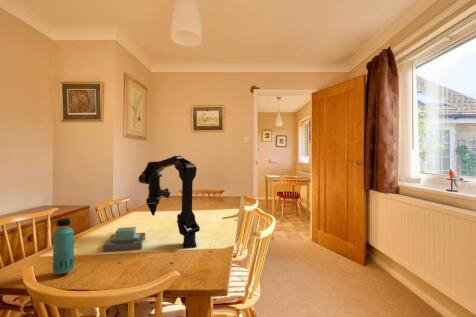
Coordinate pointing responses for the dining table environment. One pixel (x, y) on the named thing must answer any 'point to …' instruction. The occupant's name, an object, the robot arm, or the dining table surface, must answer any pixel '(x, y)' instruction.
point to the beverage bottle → (63, 247)
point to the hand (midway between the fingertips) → (154, 213)
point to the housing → (126, 234)
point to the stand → (123, 244)
